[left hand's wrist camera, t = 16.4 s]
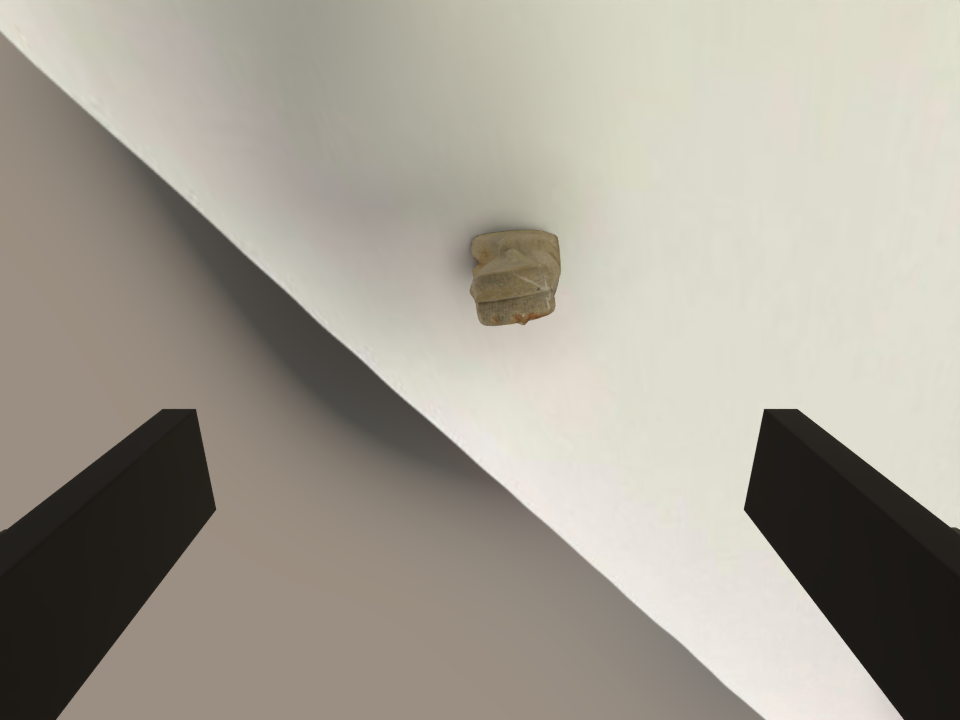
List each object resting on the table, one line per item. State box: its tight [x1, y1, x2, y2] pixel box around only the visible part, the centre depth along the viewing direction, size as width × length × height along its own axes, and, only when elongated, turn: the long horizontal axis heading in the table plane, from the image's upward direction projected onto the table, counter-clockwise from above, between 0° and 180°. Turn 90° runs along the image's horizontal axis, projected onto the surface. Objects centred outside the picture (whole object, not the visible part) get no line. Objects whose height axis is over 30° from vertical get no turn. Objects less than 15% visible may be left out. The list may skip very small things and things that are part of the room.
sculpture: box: [470, 230, 561, 326], centre depth 39 cm, size 6×7×15 cm
